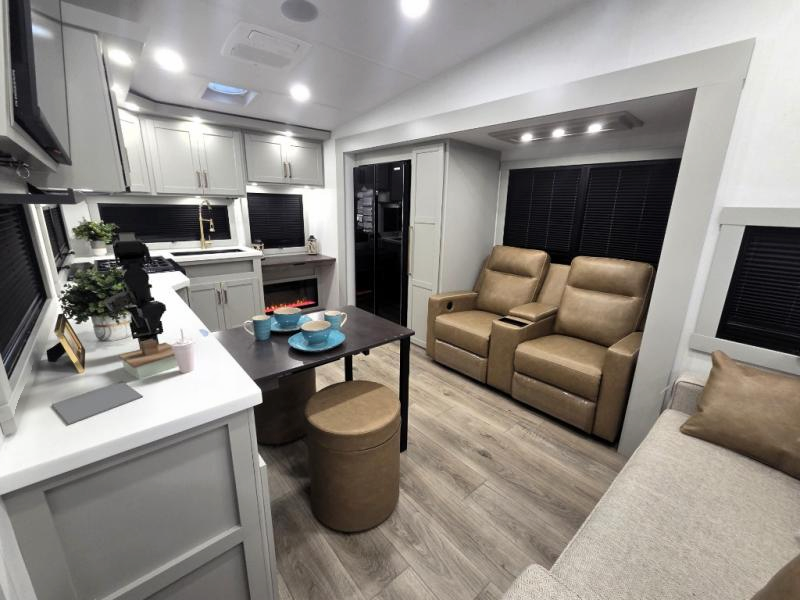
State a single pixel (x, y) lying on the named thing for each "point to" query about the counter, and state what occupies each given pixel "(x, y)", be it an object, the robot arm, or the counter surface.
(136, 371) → the dish
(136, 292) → the robot arm
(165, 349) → the lid
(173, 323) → the counter surface
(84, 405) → the mat
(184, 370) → the smoothie
